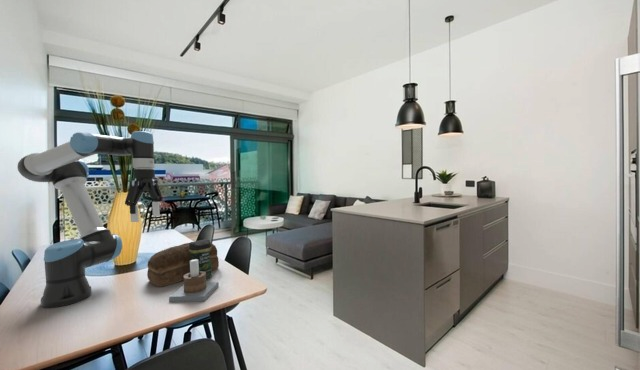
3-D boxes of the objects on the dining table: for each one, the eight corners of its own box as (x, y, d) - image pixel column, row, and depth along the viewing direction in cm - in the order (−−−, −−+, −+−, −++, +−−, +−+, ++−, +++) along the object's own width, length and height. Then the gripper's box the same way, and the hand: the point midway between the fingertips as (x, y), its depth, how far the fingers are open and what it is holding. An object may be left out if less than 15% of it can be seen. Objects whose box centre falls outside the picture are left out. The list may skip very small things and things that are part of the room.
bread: (144, 282, 126) (142, 248, 125) (207, 263, 151) (206, 235, 150) (157, 289, 117) (155, 254, 116) (222, 268, 142) (221, 239, 141)
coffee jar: (195, 283, 122) (193, 243, 121) (187, 279, 127) (185, 241, 126) (215, 277, 129) (213, 239, 129) (206, 273, 134) (205, 237, 134)
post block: (169, 301, 105) (167, 266, 105) (187, 286, 119) (186, 255, 119) (204, 301, 105) (202, 266, 104) (218, 286, 119) (217, 255, 118)
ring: (179, 293, 108) (179, 278, 108) (190, 284, 116) (189, 271, 116) (200, 293, 108) (200, 278, 107) (209, 284, 116) (209, 270, 116)
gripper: (131, 168, 100) (133, 224, 101) (170, 169, 125) (171, 214, 126) (111, 168, 100) (114, 224, 101) (154, 169, 125) (156, 214, 126)
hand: (146, 218), depth 113 cm, fingers open, 13 cm apart
